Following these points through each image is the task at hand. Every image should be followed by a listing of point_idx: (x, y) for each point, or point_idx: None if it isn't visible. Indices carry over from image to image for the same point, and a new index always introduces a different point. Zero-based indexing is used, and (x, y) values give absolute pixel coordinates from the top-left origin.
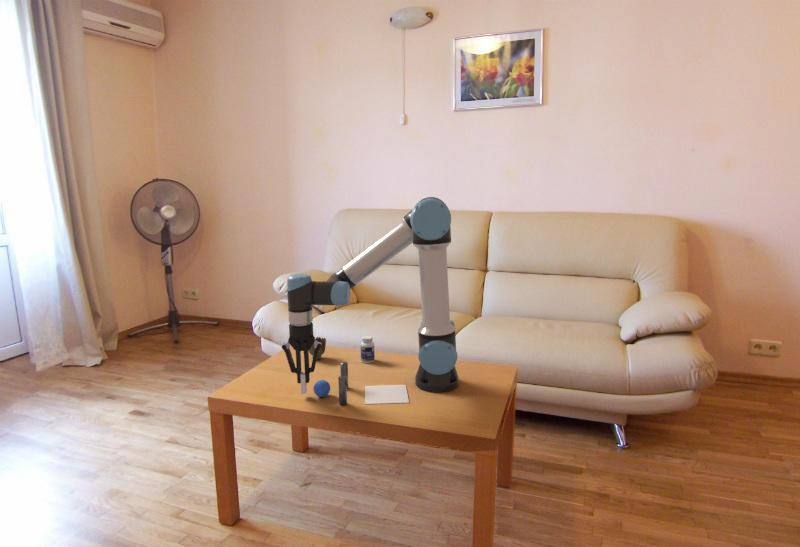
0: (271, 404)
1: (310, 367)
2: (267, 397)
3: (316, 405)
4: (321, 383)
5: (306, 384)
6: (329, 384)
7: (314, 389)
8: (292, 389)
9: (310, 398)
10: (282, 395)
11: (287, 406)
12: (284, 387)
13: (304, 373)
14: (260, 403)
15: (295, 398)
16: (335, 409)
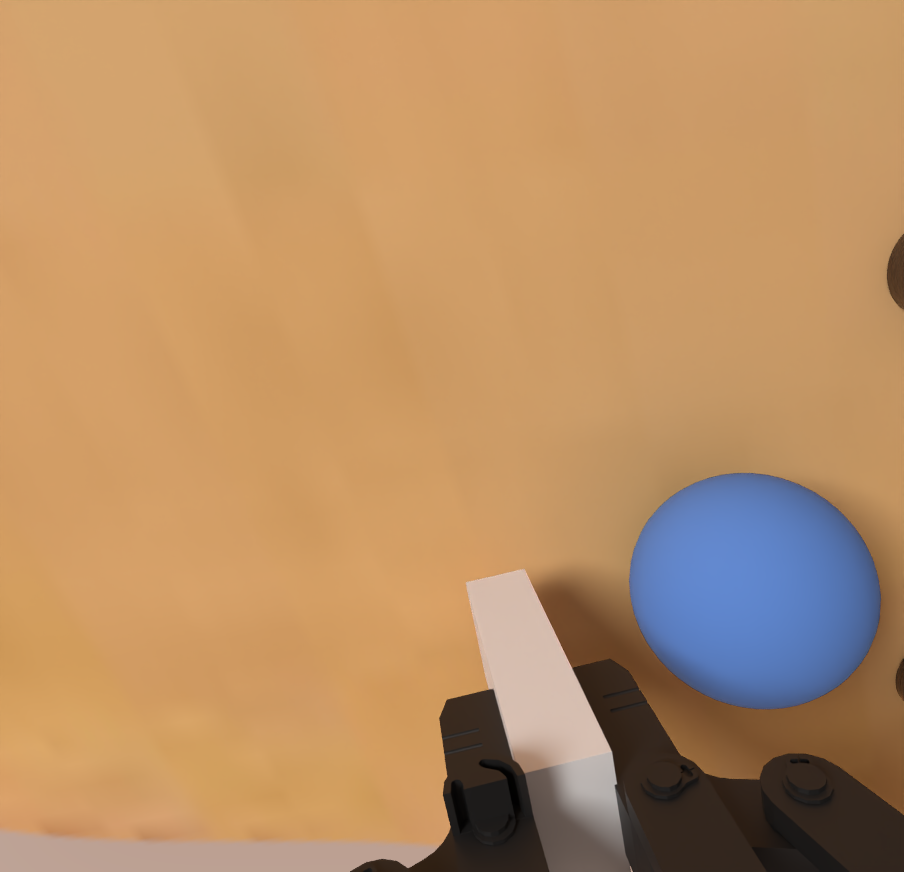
0: (191, 816)
1: (775, 856)
2: (46, 674)
3: (676, 746)
4: (810, 693)
5: (545, 615)
6: (872, 562)
7: (670, 670)
8: (262, 404)
9: (574, 611)
10: (209, 594)
11: (386, 820)
12: (116, 355)
13: (607, 837)
14: (51, 819)
15: (402, 640)
16: (869, 783)
